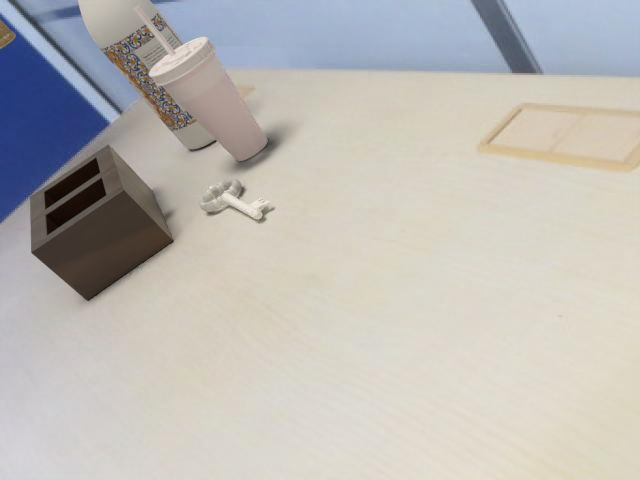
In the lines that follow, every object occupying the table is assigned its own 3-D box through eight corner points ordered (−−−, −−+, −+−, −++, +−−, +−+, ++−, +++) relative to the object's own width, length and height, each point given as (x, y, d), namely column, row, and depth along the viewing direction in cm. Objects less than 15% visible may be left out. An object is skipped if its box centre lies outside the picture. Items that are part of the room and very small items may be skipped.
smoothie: (255, 131, 78) (149, -8, 67) (290, 129, 74) (183, -19, 64) (213, 170, 75) (95, 31, 65) (247, 169, 71) (128, 23, 61)
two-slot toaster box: (77, 240, 77) (29, 196, 73) (152, 190, 78) (108, 143, 74) (87, 301, 66) (30, 252, 62) (173, 240, 67) (123, 189, 63)
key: (233, 181, 70) (197, 208, 69) (226, 172, 70) (190, 199, 69) (282, 204, 63) (242, 236, 62) (274, 195, 62) (234, 226, 61)
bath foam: (186, 139, 85) (25, -49, 71) (237, 107, 85) (88, -87, 71) (188, 159, 80) (16, -38, 66) (242, 125, 80) (83, -80, 66)
